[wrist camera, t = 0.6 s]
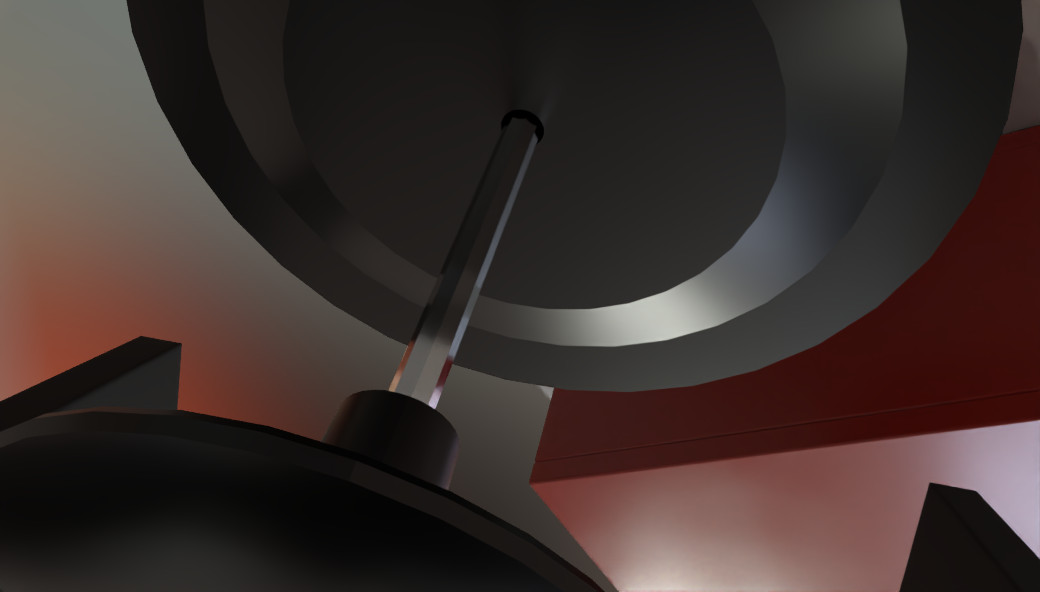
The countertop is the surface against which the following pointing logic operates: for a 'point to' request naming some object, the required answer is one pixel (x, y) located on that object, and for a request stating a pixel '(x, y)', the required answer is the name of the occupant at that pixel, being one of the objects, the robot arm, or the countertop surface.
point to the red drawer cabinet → (826, 429)
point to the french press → (507, 251)
